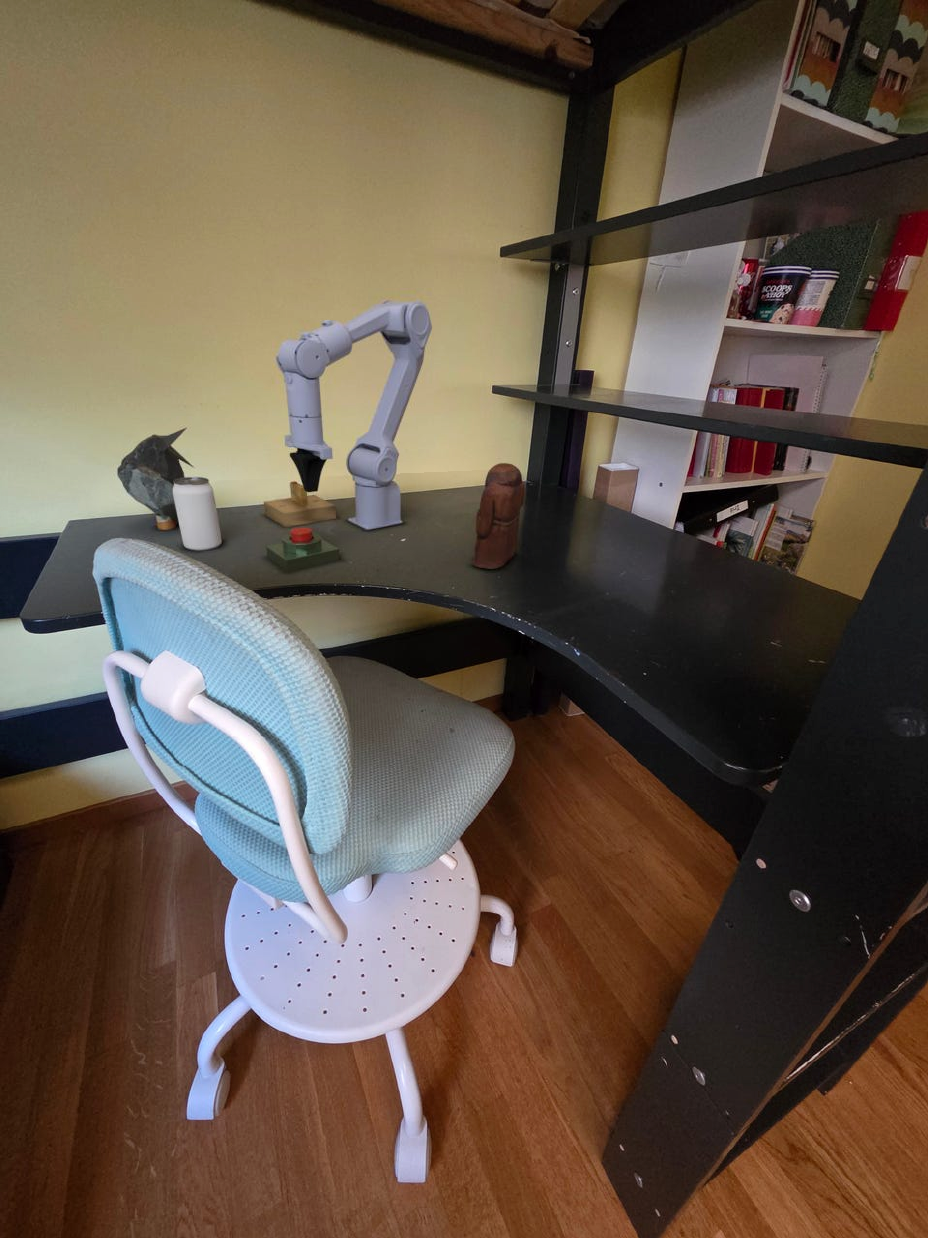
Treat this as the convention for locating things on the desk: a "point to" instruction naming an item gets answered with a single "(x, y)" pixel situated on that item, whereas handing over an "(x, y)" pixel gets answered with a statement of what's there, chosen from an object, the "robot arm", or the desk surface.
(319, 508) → the plate
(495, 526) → the wooden figurine
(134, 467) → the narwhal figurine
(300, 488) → the lock knob
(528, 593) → the desk surface
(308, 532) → the bell button
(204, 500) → the can
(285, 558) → the green button base
